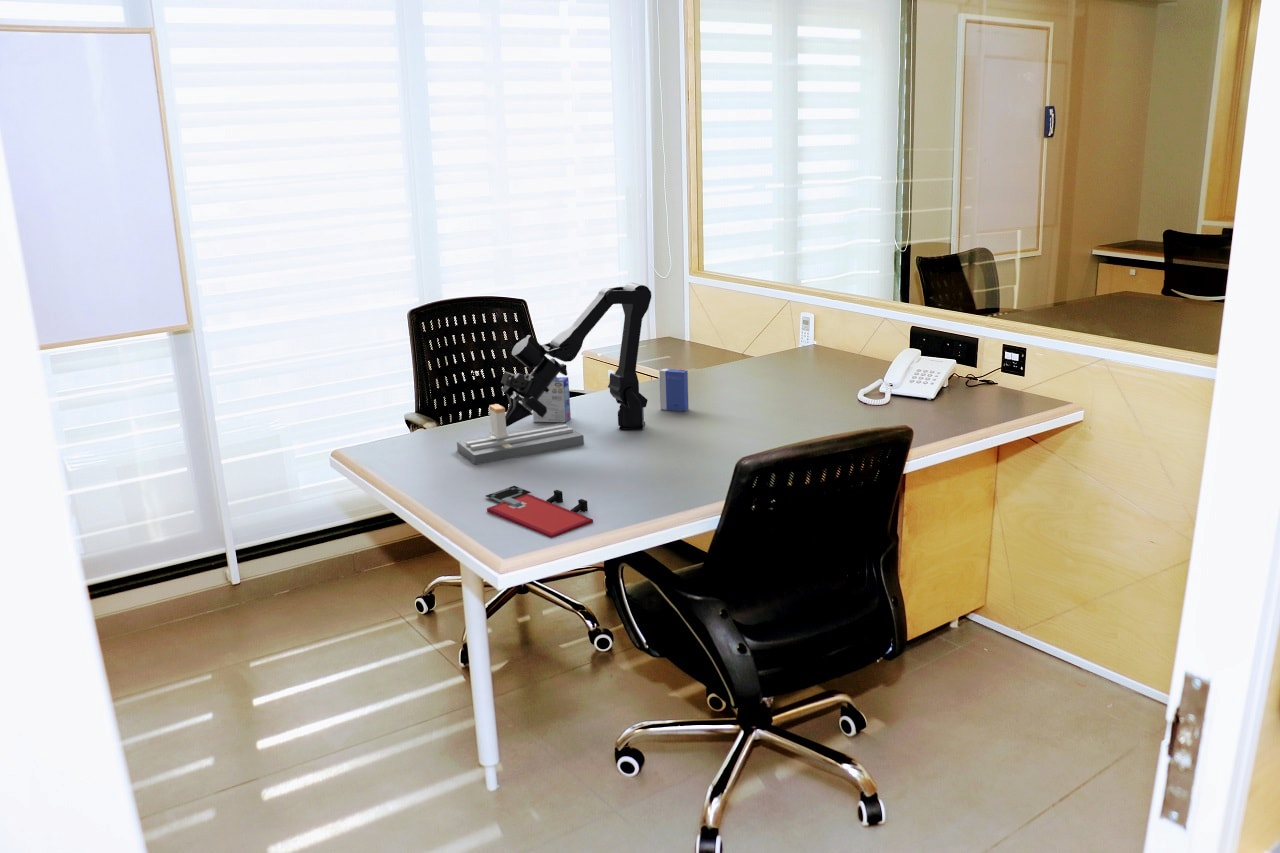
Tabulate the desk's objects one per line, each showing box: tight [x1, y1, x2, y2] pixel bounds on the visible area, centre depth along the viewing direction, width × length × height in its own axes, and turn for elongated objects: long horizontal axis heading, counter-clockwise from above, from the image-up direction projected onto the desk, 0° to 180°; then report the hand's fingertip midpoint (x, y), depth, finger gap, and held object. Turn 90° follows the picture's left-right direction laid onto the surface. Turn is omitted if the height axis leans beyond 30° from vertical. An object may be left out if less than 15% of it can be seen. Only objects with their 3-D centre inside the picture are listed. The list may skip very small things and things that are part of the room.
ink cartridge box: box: [532, 375, 572, 423], centre depth 295 cm, size 10×6×14 cm, turn 78°
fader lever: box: [488, 403, 508, 441], centre depth 268 cm, size 3×6×9 cm, turn 28°
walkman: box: [658, 368, 690, 412], centre depth 301 cm, size 8×3×12 cm, turn 63°
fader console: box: [456, 422, 585, 465], centre depth 272 cm, size 30×14×3 cm, turn 118°
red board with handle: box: [485, 485, 594, 539], centre depth 227 cm, size 30×3×15 cm
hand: (503, 426), depth 269 cm, fingers closed, pressing on fader lever
